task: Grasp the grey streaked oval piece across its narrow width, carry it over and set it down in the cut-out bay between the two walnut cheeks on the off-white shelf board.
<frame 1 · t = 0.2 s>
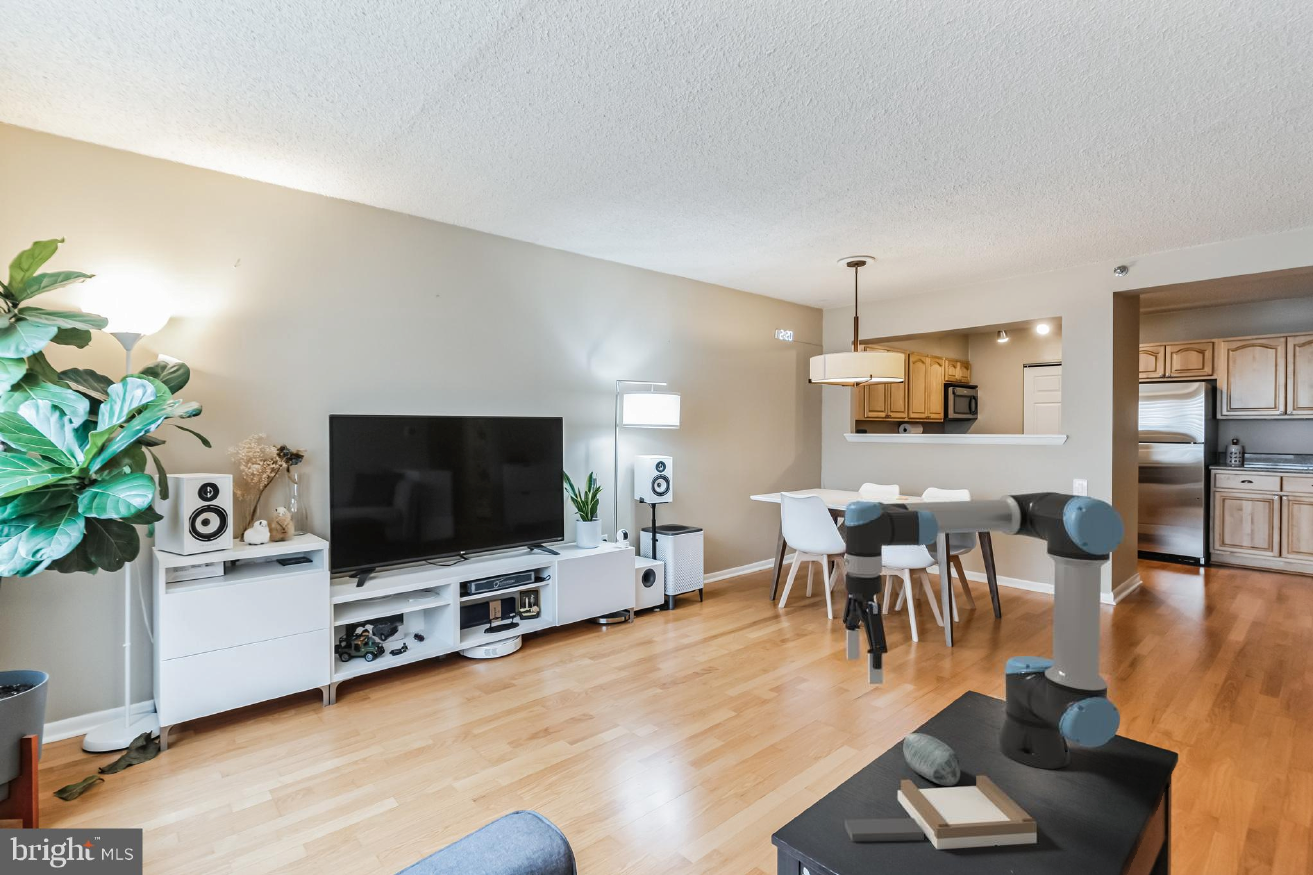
hand: (863, 670, 136), 27 cm above the table, fingers open, 13 cm apart
shelf bay: (963, 819, 127), on the table
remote: (883, 835, 123), on the table
grey streaked oval piece: (930, 776, 144), on the table
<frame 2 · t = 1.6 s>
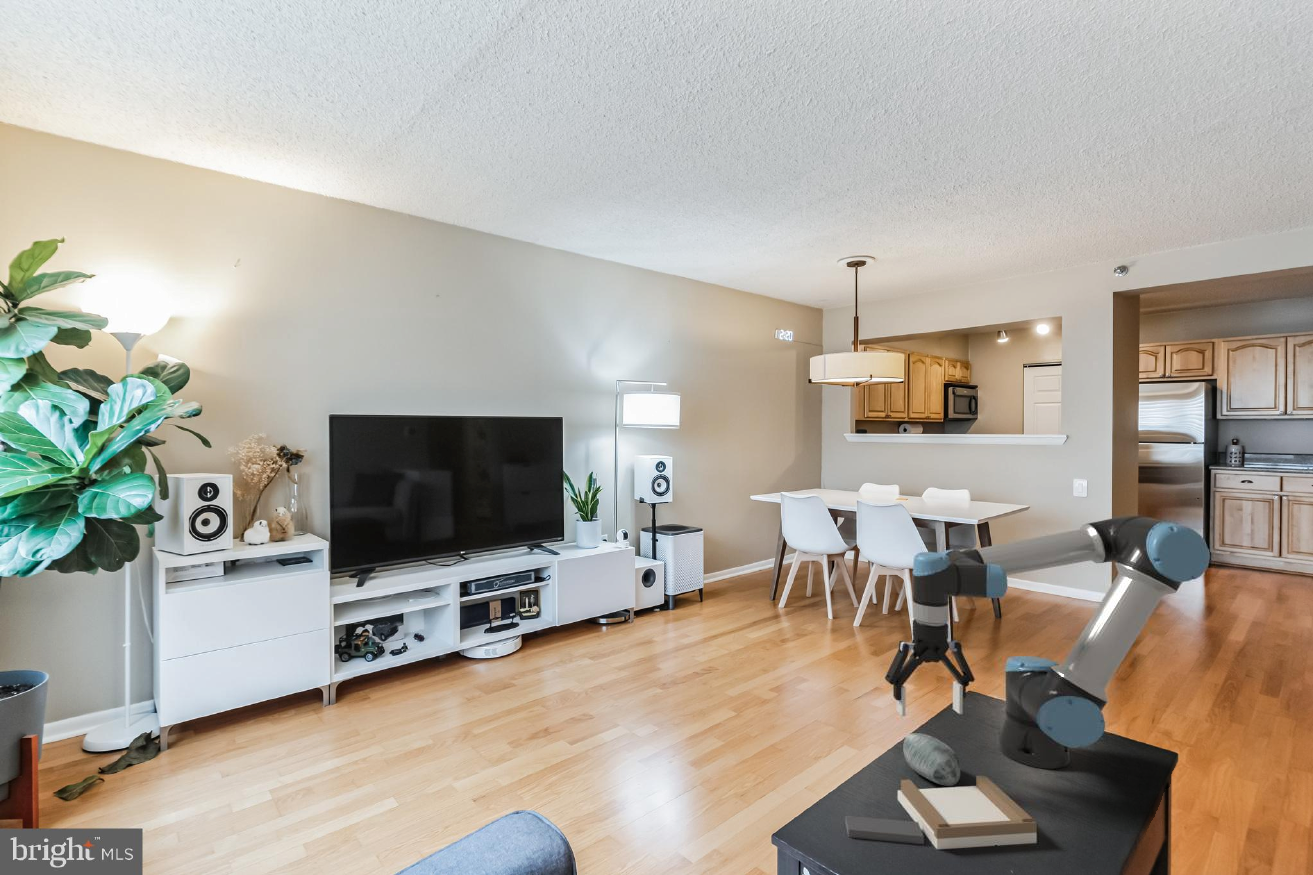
hand: (929, 712, 144), 14 cm above the table, fingers open, 13 cm apart
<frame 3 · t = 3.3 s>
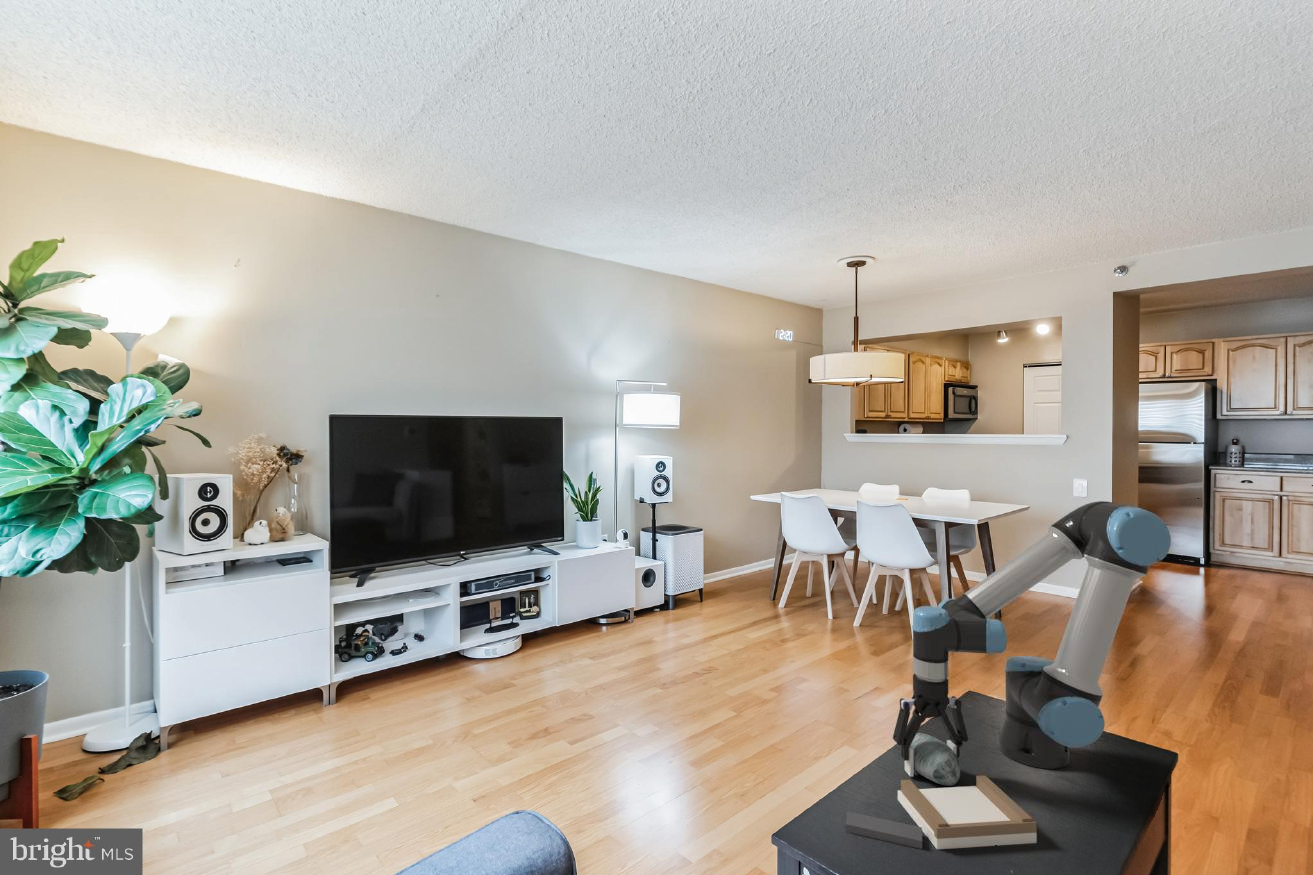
hand: (930, 772, 144), 1 cm above the table, fingers closed on grey streaked oval piece, 10 cm apart
grey streaked oval piece: (930, 775, 144), on the table, touching gripper
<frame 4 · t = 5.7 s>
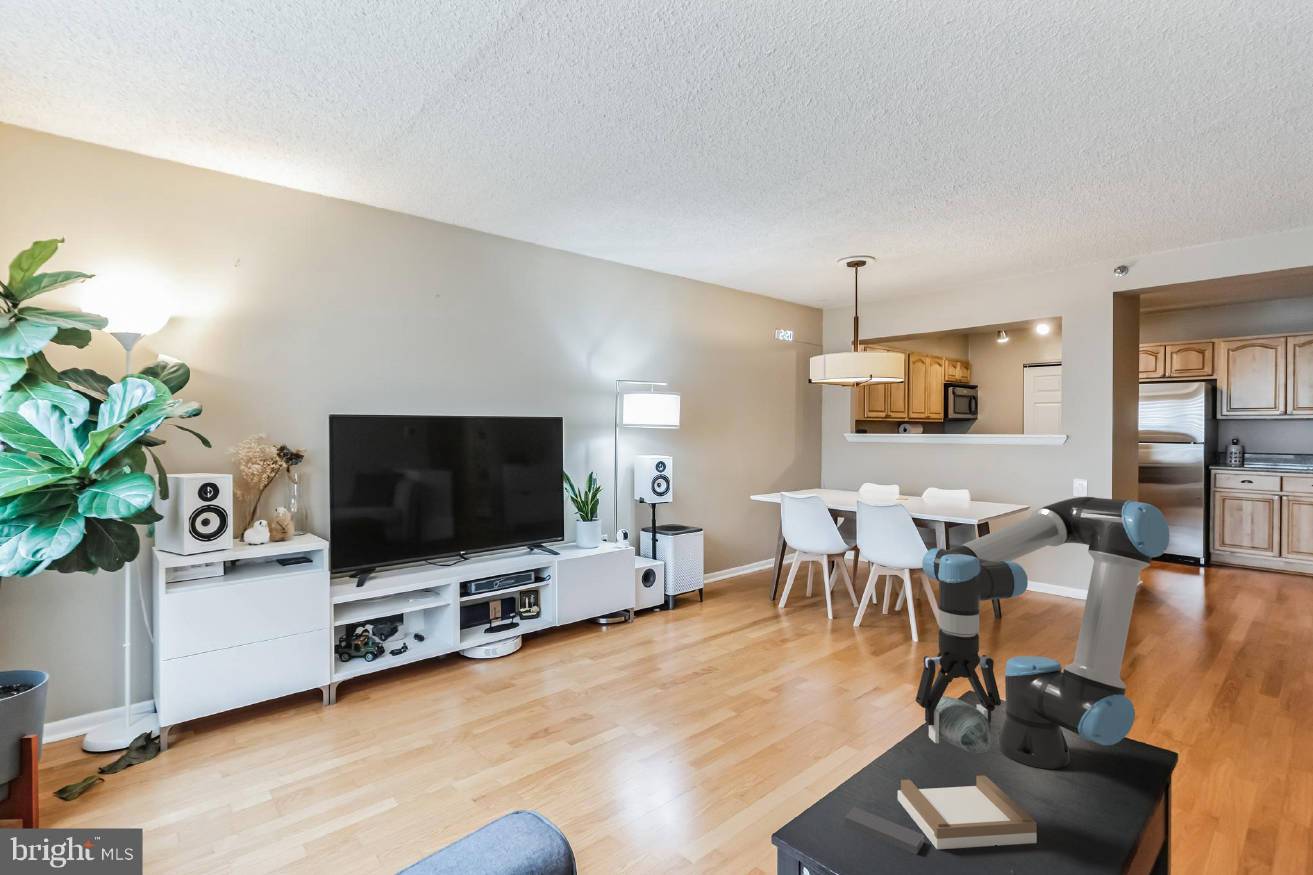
hand: (957, 739, 129), 16 cm above the table, fingers closed on grey streaked oval piece, 9 cm apart
grey streaked oval piece: (957, 743, 129), point 15 cm above the table, touching gripper
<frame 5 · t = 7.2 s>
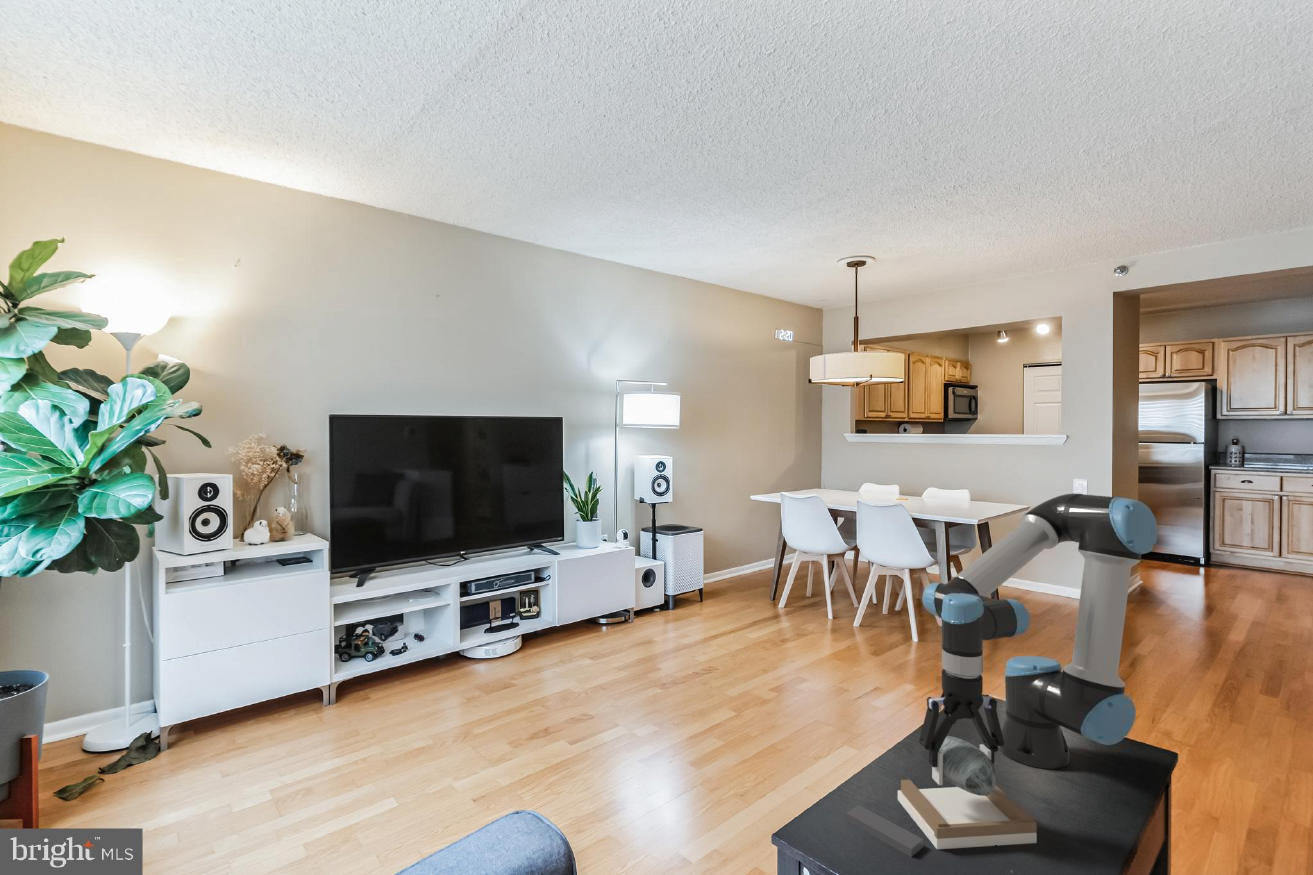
hand: (961, 780, 128), 8 cm above the table, fingers closed on grey streaked oval piece, 9 cm apart
grey streaked oval piece: (961, 784, 128), point 7 cm above the table, touching gripper
when the fingers open (6 cm above the table, at t = 8.2 s): grey streaked oval piece drops 3 cm, resting on shelf bay.
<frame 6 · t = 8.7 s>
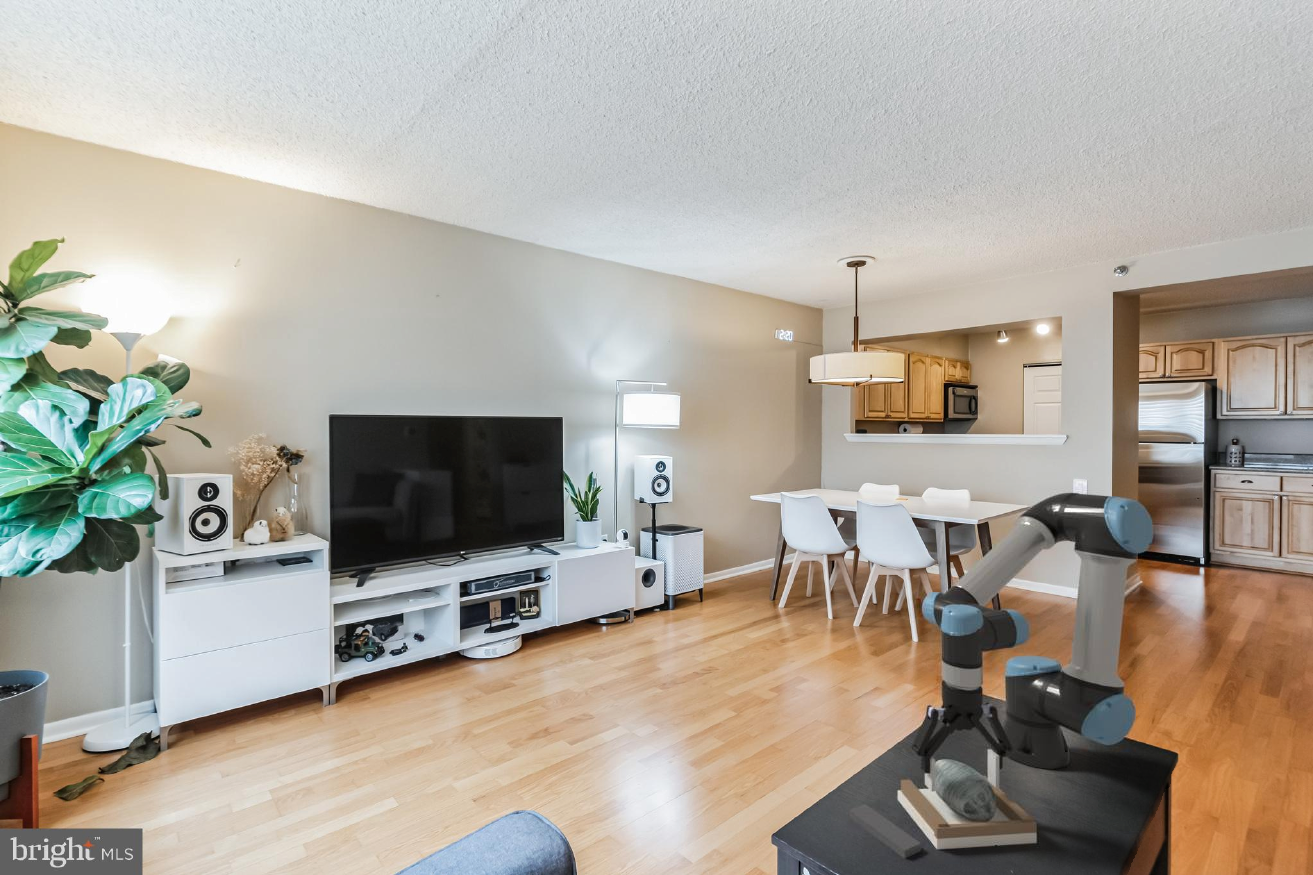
hand: (961, 786, 128), 7 cm above the table, fingers open, 13 cm apart
grey streaked oval piece: (962, 808, 128), point 2 cm above the table, touching shelf bay
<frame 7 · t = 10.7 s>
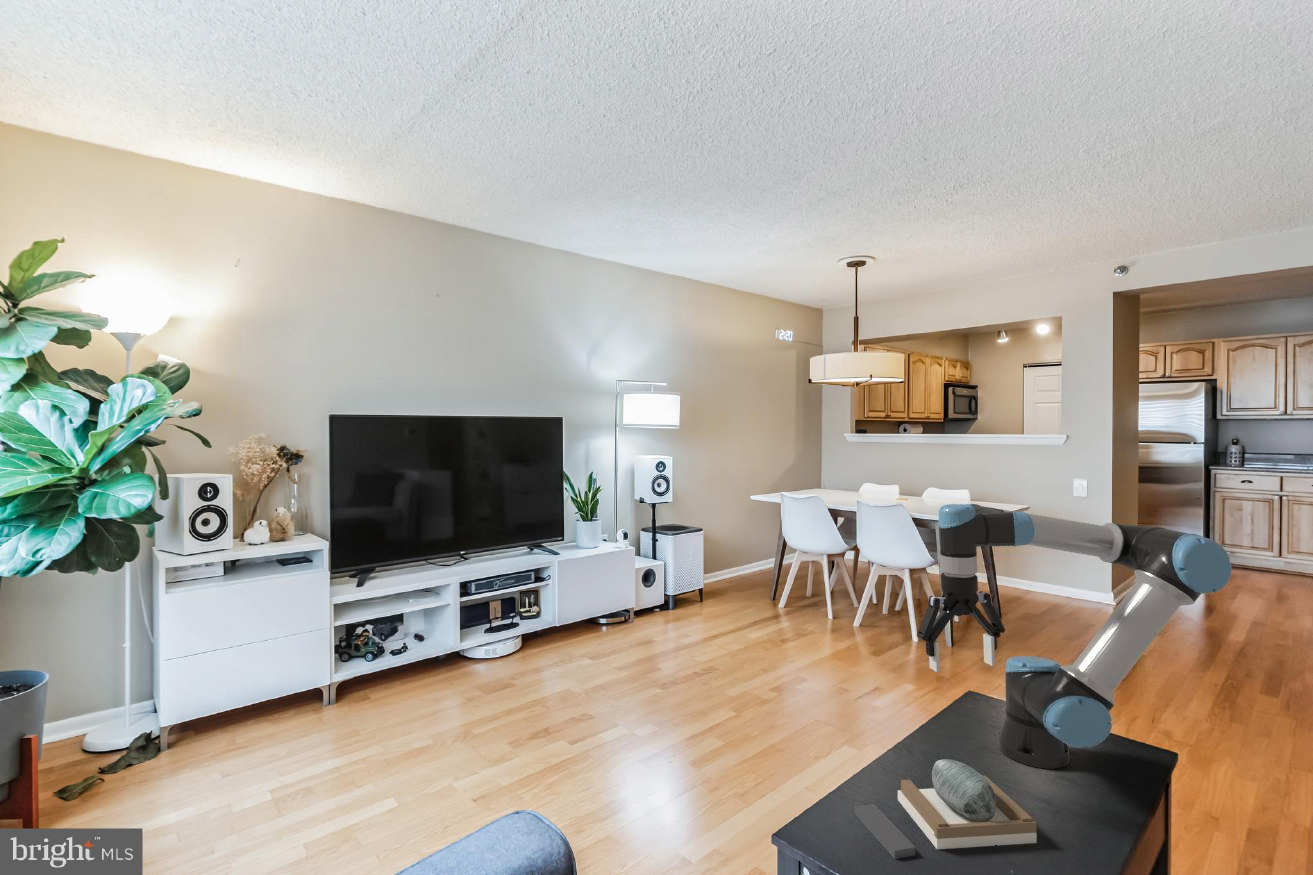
hand: (962, 667, 141), 26 cm above the table, fingers open, 13 cm apart
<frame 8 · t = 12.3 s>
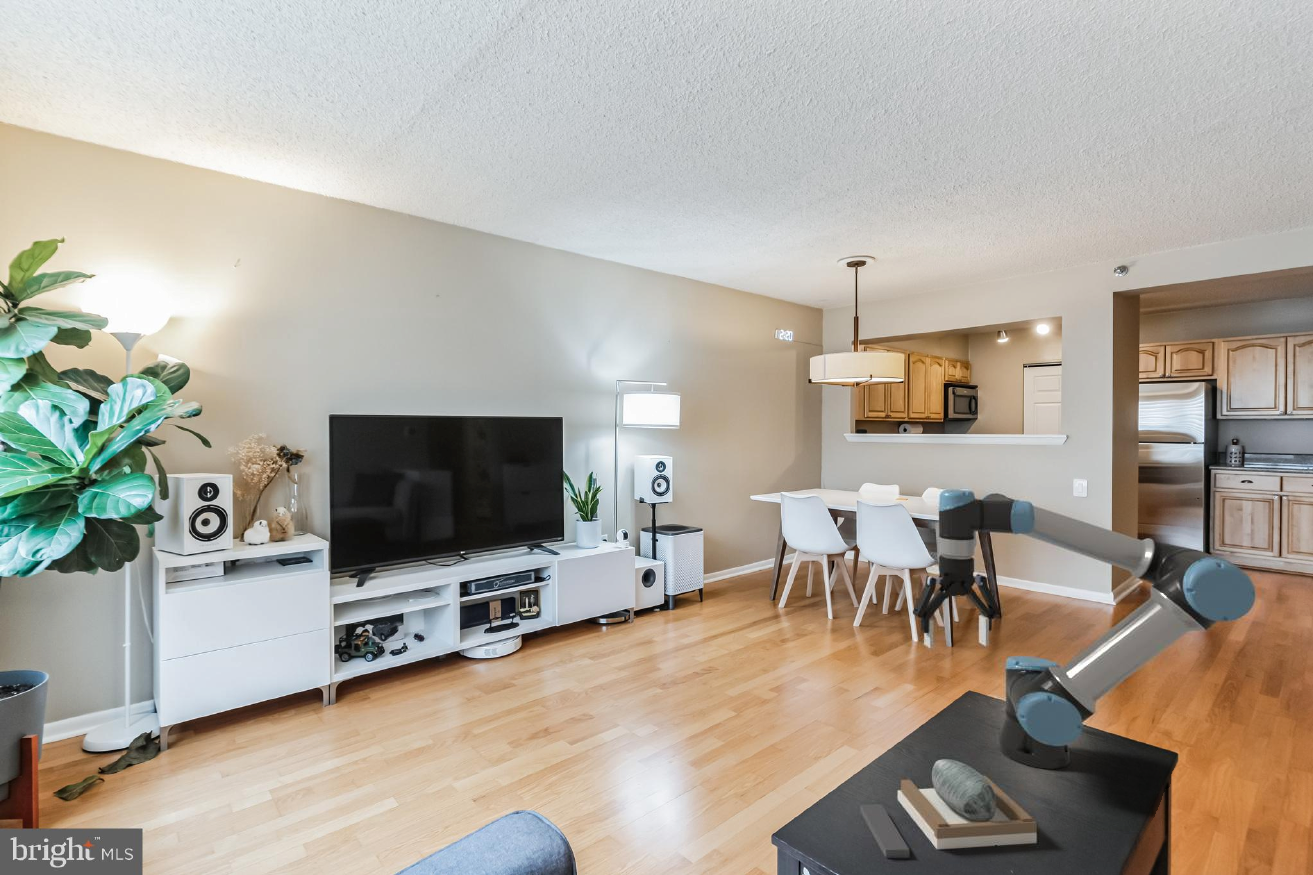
hand: (956, 645, 147), 29 cm above the table, fingers open, 13 cm apart
at the end: grey streaked oval piece inside the target area on the shelf bay (0.9 cm from its centre), point 1.8 cm above the shelf bay's base; the gripper is holding nothing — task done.
